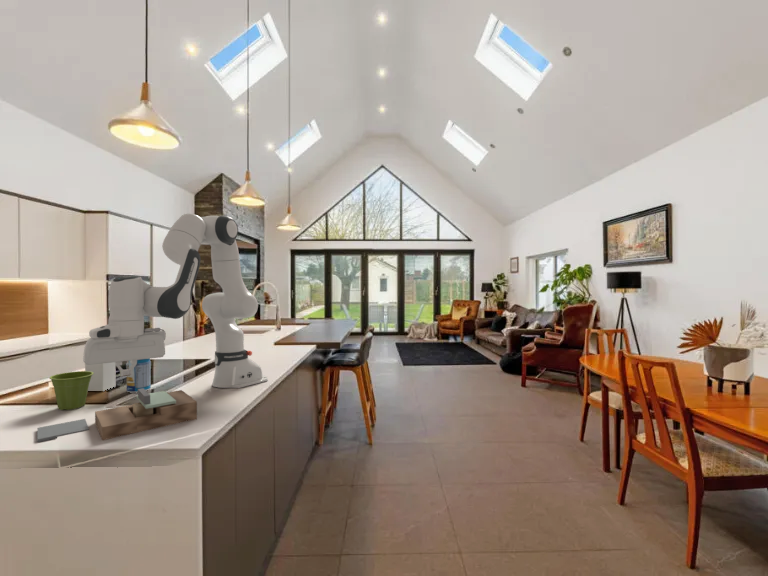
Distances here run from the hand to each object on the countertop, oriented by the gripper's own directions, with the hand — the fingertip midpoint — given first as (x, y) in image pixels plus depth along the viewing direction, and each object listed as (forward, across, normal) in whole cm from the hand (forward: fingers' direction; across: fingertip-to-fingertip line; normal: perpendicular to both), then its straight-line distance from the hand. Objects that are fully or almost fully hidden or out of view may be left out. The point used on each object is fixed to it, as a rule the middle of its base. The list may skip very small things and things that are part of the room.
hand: (126, 375), depth 114 cm
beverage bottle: (+15, -10, -42) cm, 46 cm away
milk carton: (+15, +1, -54) cm, 56 cm away
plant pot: (+15, +10, -34) cm, 39 cm away
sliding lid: (+9, -8, 0) cm, 12 cm away
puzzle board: (+15, -6, 0) cm, 16 cm away
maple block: (+15, -4, 0) cm, 16 cm away
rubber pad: (+15, +14, -9) cm, 23 cm away
